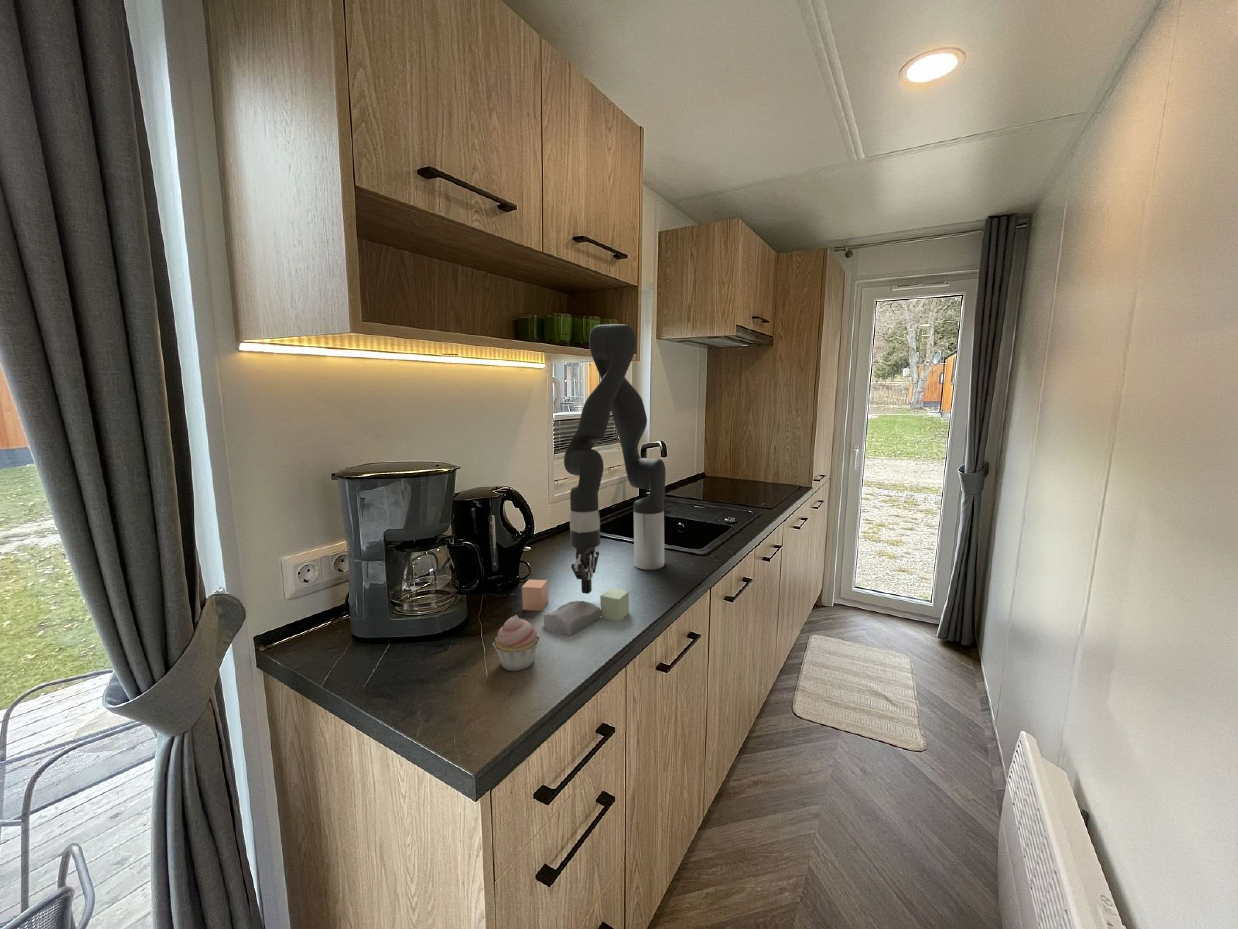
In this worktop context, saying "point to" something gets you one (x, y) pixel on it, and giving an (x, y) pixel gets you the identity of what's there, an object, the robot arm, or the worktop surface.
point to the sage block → (614, 604)
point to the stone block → (572, 617)
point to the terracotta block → (535, 594)
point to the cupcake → (516, 644)
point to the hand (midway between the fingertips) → (586, 592)
